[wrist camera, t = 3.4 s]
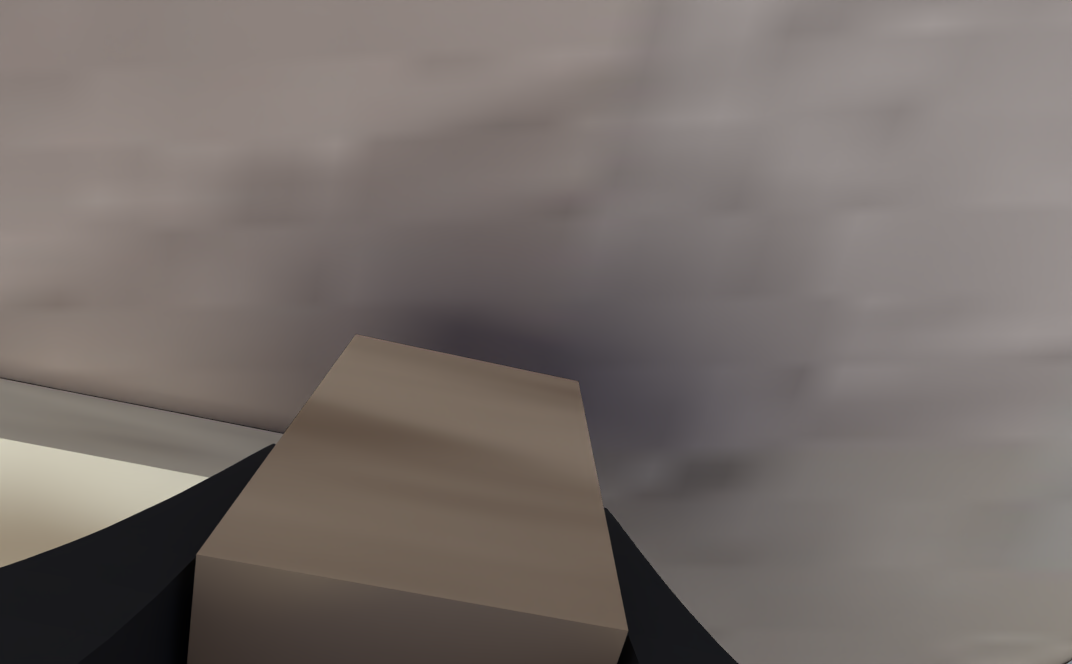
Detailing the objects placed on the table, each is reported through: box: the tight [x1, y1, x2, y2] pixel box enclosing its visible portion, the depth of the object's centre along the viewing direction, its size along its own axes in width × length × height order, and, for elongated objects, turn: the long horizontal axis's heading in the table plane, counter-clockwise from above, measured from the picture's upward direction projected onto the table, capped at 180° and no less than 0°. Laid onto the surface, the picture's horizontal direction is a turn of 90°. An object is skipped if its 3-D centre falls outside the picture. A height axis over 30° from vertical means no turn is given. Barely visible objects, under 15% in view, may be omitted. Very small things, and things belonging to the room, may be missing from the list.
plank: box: [0, 378, 283, 567], centre depth 17 cm, size 7×14×2 cm, turn 77°
